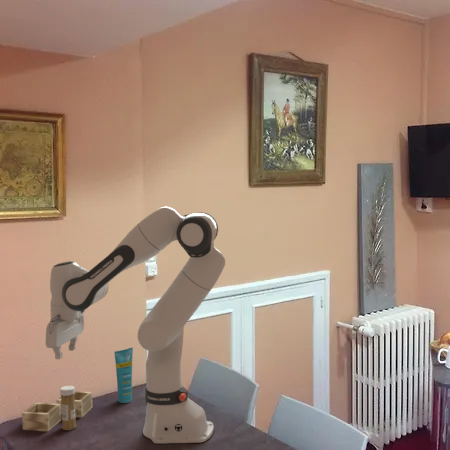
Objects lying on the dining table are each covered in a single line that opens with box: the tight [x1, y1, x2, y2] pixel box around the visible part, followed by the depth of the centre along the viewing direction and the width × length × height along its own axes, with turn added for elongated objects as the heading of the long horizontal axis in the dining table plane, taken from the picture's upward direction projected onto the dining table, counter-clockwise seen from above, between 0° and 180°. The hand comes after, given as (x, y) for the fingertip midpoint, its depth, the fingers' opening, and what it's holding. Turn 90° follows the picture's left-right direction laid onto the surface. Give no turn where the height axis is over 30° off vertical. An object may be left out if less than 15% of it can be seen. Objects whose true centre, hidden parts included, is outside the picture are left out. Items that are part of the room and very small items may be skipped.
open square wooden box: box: [21, 402, 62, 432], centre depth 195 cm, size 9×9×6 cm
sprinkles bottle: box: [59, 385, 77, 431], centre depth 192 cm, size 5×5×14 cm
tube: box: [113, 347, 134, 404], centre depth 214 cm, size 7×5×19 cm, turn 134°
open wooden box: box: [56, 390, 93, 419], centre depth 205 cm, size 9×9×6 cm
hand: (65, 354), depth 190 cm, fingers open, 8 cm apart
